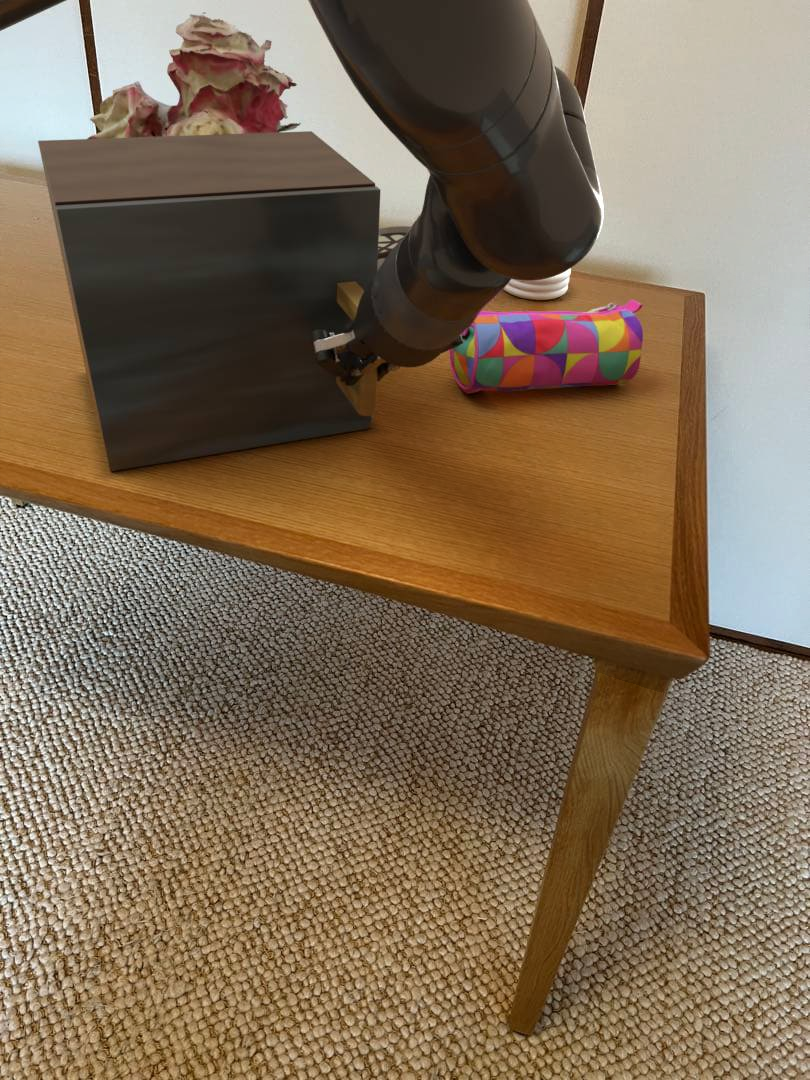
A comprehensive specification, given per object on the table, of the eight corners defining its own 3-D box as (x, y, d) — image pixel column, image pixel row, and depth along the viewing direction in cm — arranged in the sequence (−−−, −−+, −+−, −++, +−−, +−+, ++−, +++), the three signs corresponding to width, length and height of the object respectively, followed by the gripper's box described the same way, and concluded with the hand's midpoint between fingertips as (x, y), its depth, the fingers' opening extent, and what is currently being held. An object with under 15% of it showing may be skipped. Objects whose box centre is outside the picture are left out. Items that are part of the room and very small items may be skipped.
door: (396, 464, 79) (412, 215, 64) (120, 514, 71) (65, 241, 56) (367, 423, 85) (376, 186, 70) (108, 465, 76) (55, 205, 61)
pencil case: (603, 356, 101) (620, 285, 95) (642, 392, 94) (662, 319, 88) (439, 372, 95) (446, 298, 89) (468, 412, 88) (477, 335, 82)
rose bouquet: (96, 238, 121) (53, -2, 102) (283, 221, 132) (276, 1, 113) (128, 306, 104) (83, 32, 85) (341, 281, 114) (344, 32, 95)
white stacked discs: (533, 307, 111) (537, 282, 109) (483, 282, 117) (486, 258, 115) (581, 292, 117) (586, 268, 114) (531, 269, 122) (535, 245, 120)
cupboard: (366, 423, 85) (375, 183, 70) (108, 465, 76) (54, 202, 61) (314, 348, 98) (311, 131, 83) (87, 377, 89) (37, 140, 74)
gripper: (344, 360, 56) (296, 424, 73) (518, 337, 61) (436, 402, 77) (319, 257, 57) (278, 343, 73) (494, 241, 61) (418, 326, 77)
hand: (359, 373), depth 75 cm, fingers closed on door, 2 cm apart
